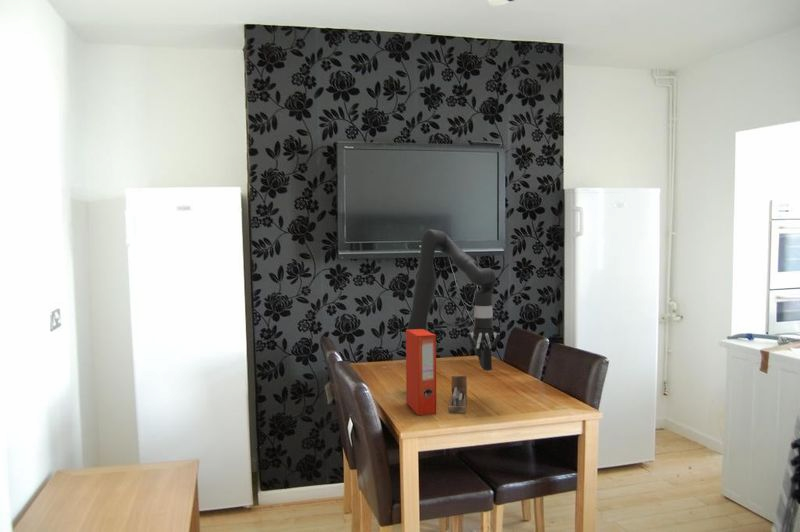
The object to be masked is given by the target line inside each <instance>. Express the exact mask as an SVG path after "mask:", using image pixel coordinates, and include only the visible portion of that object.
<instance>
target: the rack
mask: <svg viewBox="0 0 800 532" xmlns="http://www.w3.org/2000/svg"><path fill="white" fill-rule="evenodd" d="M467 378H468V376H467V375H451V394H450V400H449V405H448V413H449V414H466V410H467V409H466V408H467V400H468V399H467V398H468V389H467V387H468V383H467V380H468V379H467ZM455 388H457V390H460V393H462V398H463V404H462V407H461V406H453V393H454V389H455Z"/></svg>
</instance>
